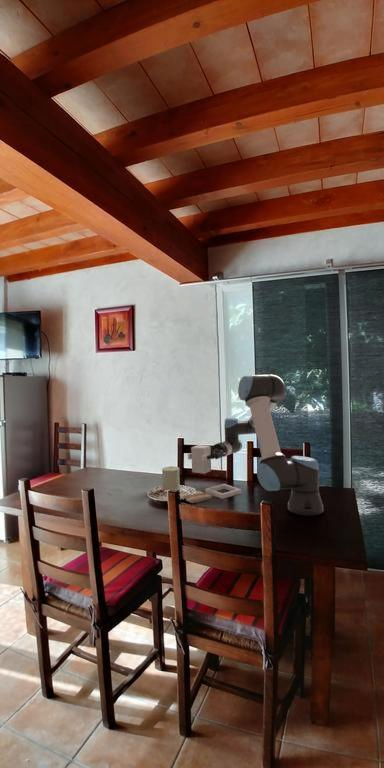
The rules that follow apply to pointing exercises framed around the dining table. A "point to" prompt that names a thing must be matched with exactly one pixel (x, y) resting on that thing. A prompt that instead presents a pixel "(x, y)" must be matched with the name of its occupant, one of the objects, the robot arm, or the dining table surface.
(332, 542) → the dining table surface
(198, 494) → the pad
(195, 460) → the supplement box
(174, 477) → the can
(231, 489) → the white flat square frame
